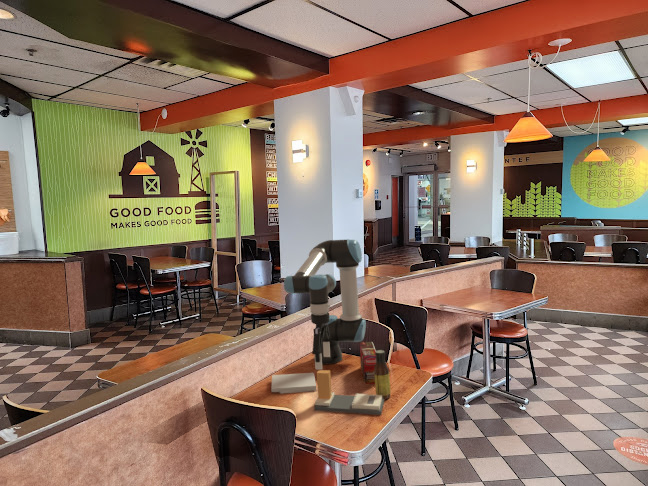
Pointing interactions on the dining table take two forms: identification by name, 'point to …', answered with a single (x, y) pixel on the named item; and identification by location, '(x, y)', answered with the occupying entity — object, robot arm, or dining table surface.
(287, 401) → the dining table surface
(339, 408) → the mat
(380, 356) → the sauce bottle
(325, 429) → the dining table surface
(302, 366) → the dining table surface
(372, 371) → the ice cream box
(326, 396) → the tan block with base
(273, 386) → the grey flat slab
